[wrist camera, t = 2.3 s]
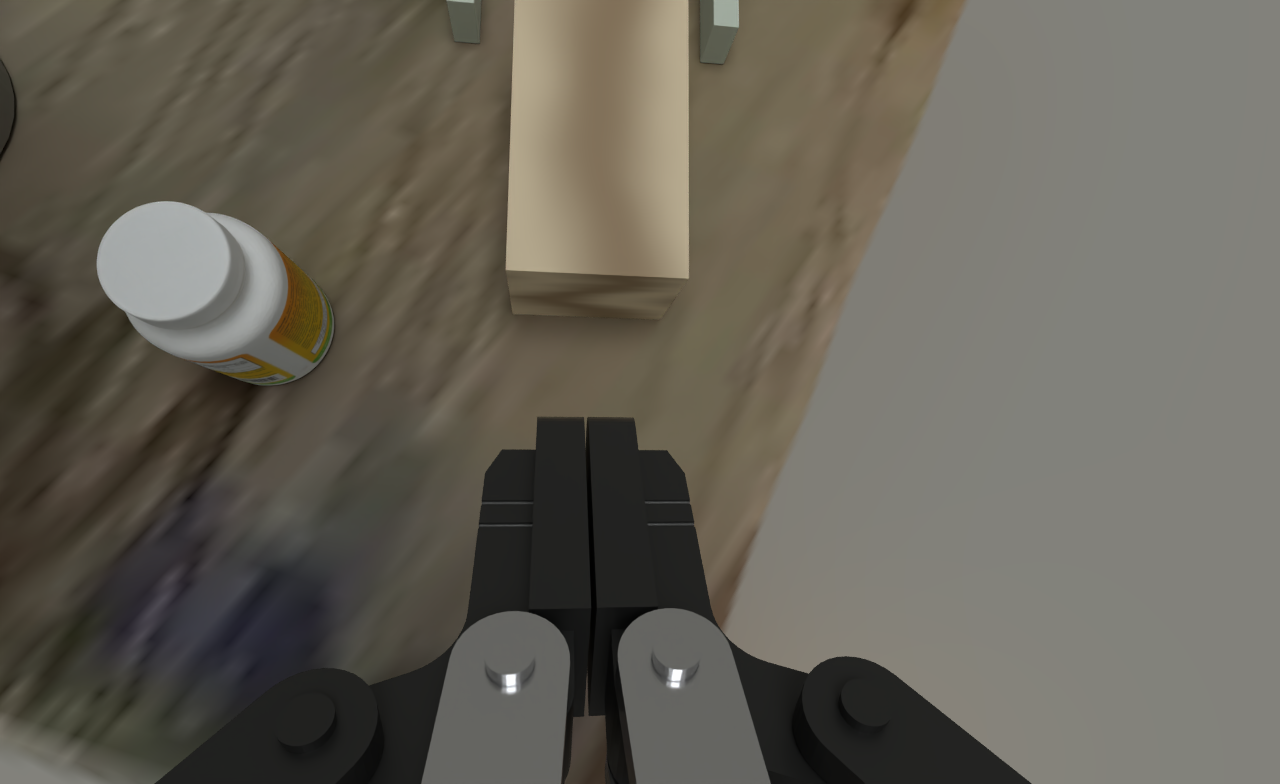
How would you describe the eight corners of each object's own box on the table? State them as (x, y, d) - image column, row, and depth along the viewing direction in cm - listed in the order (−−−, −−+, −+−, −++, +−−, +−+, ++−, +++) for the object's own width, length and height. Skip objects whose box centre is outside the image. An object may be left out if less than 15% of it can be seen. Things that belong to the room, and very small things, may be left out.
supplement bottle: (288, 246, 33) (185, 146, 24) (361, 338, 33) (288, 275, 24) (183, 316, 32) (32, 242, 23) (258, 411, 32) (138, 377, 23)
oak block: (512, 314, 34) (505, 269, 27) (520, 76, 36) (515, -22, 29) (660, 320, 35) (688, 278, 28) (660, 88, 37) (688, -5, 30)
